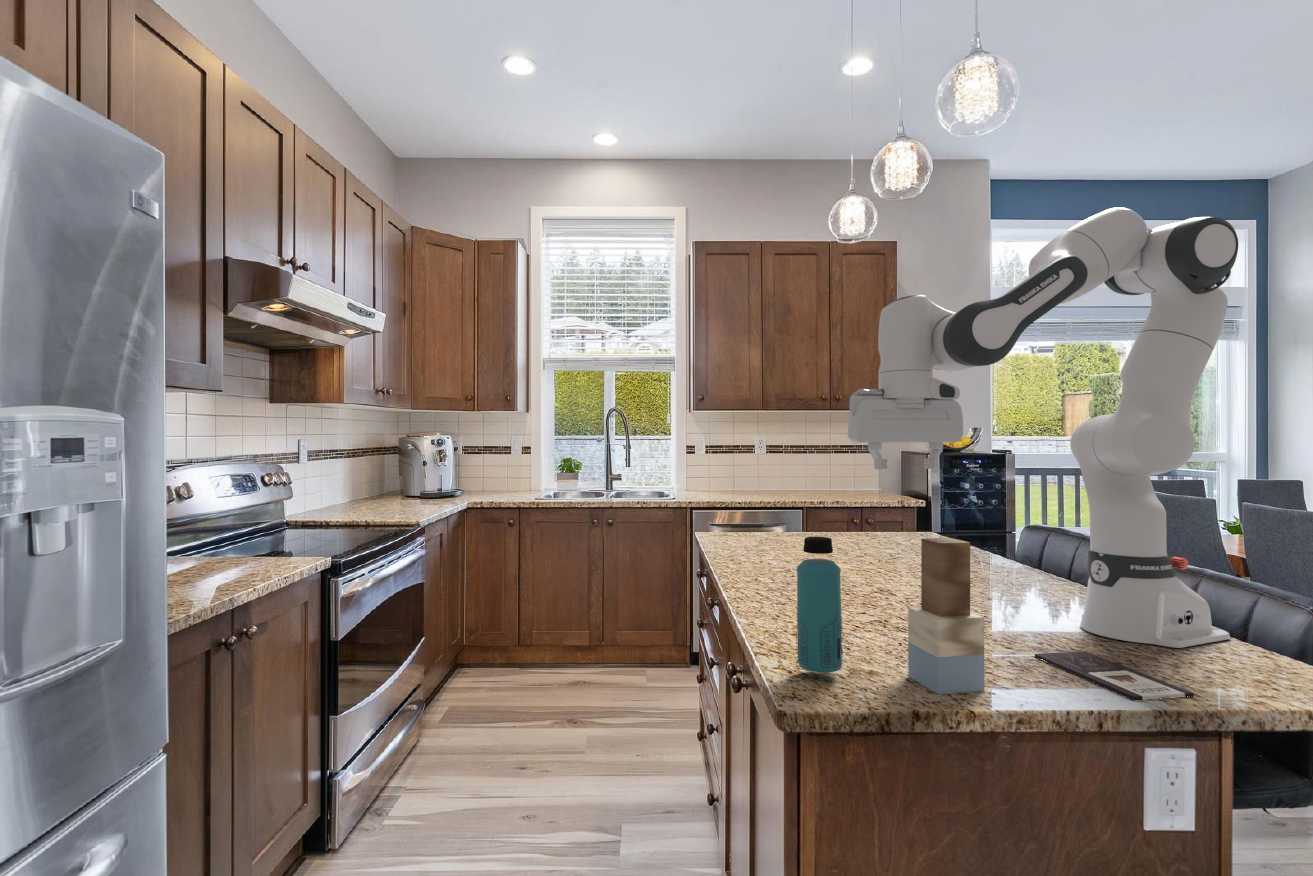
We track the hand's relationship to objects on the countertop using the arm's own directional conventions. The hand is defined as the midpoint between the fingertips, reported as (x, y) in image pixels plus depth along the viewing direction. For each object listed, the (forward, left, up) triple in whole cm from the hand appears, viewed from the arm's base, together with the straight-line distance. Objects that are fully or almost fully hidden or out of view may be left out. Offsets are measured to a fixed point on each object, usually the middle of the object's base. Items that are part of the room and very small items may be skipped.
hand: (905, 469), depth 115 cm
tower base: (+7, +21, -29) cm, 37 cm away
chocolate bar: (-18, +23, -30) cm, 41 cm away
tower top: (+7, +21, -24) cm, 33 cm away
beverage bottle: (+23, +15, -29) cm, 40 cm away
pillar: (+7, +21, -19) cm, 29 cm away
